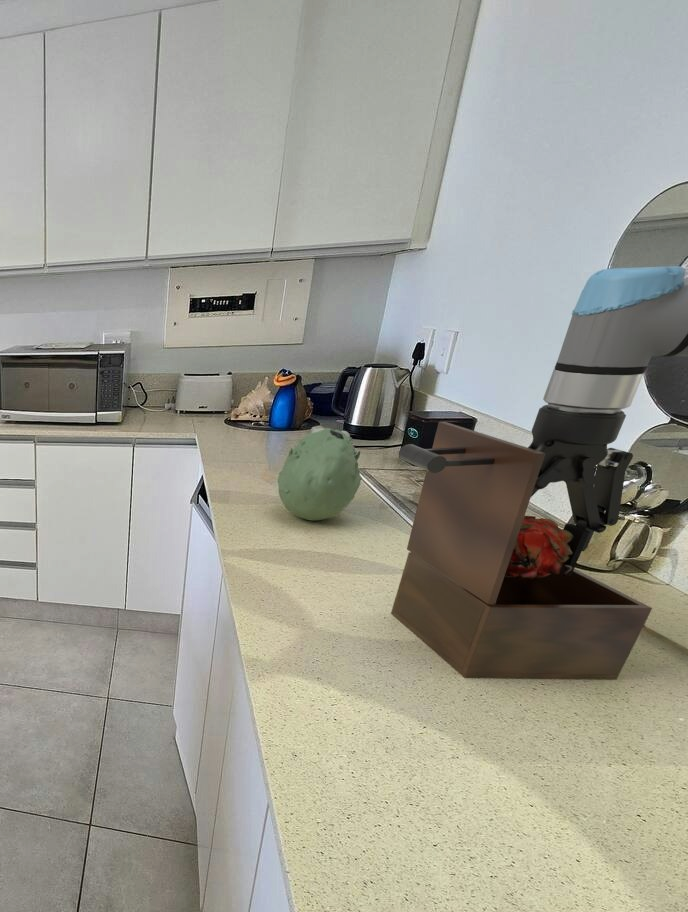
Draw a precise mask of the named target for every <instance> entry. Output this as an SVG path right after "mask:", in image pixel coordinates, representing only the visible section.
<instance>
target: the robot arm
mask: <svg viewBox="0 0 688 912" xmlns="http://www.w3.org/2000/svg"><path fill="white" fill-rule="evenodd" d="M686 274H687V273H686V269H685V268H684V267H683V266H679V265H677V266H676V265H673V266H671V265H669V266H668V265H667V266H645V267H616V268H603V269H601V270H600V269H599V270H597V271H596V272H594V273H592V275H590V276H589V277H588V278H587V280H586V283H585V285H584V286H583V288H582V290H581V292H580V295H579V298H578V300H577V302H576V304H575V306H574V308H573V310H572V312H571V318H570V320H569V324H568V327H567V330H566V333H565V336H564V340H563V342H562V344H561V345H562V346H561V349H560V351H559V354H558V358H557V360H556V363H555V366H554V368H553V371H552V373H551V376H550V378H549V381H548V383H547V388H546V389H545V393H544V396H543V398H542V400H543V402H545V403H546V404H544V405H542V406H541V407H539V409H538V411H537V414H536V416H535V420H534V423H533V425H532V428H531V434H532V442H531V443H530V444H529V446H528V447H527V448H530V449H533V450H537V451H540V452H543V453H545V456H544V459H543V462H542V465H541V468H540V471H539V474H538V477H537V480H536V483H535V486H534V489H533V492H532V495H531V498H532V497H533V496H534V495H536V493H537V492H538V491H539V490H543V489H545V488H546V487H547V486H548V485H550V484H551V483H555V484H556V483H559V482H564V483H565V485H566V490H567V495H568V496H567V497H568V500H569V504H570V510H571V514H572V519H573V522H574V523H575V524H573V523H564V526H563V528H562V529H563V530H567V531H569V532H570V533H571V534H572V535H573V537H574V538H573V539H572V540H571V541H570V542H568V543H567V545H569V547H570V549H571V551H572V552H573V553H572V554H571V555H567V556H569V559H568V560H567V561H565V562H563V563H562V564H564V565H569V566H571V567H572V570H571V571H569V572H568V573H566V574H562V575H564V576H571V575H572V572H573V570H574V569H576V565H577V563H578V561H579V558H580V556H581V554H582V552H586V550H587V549H588V548H589V544H590V542H591V540H592V538H593V535H594V533H597V534H601V533H603V532H605V531H606V530H607V526H609V527H613V526H615V525H616V524H618V522H619V518H620V511H621V504H622V496H623V490H624V483H625V477H626V471H627V469H628V467H629V465H630V463H631V462H632V460H633V458H634V454H633V453H632V452H629V451H625V450H622V449H617V448H614V447H608V445H610V444H612V443H614V442H615V441H616V440H617V438H618V436H619V434H620V431H621V429H622V426H623V424H624V422H625V419H626V417H627V415H626V413H625V411H623V410H625V409H627V408H630V407H631V405H632V403H633V401H634V398H635V395H636V393H637V390H638V388H639V385H640V383H641V381H642V379H643V377H644V373H646V371H647V368H648V365H649V362H650V361H651V359H652V357H665V358H669V357H688V277H686ZM595 467H596V469H595Z"/></svg>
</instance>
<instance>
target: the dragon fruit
mask: <svg viewBox="0 0 688 912" xmlns="http://www.w3.org/2000/svg"><path fill="white" fill-rule="evenodd" d="M563 529H564V528H561V527H559V525H558V523H557V522H556V521H555V520H553V519H552V518H551V519H550V518H541V517H540V518H537V517H536V516H535V515H525V516H524V519H523V522H522V525H521V528H520V531H519V534H518V537H517V540H516V543H515V546H514V549H513V552H512V555H511V558H510V561H509V564H508V567H507V570H506V573H505V576H504V577H505V578H508V579H510V578H509V577H516V576H518V575H520V576H522V577H523V578H526V577H527V578H529V579H532V578H534V577H536V578H541V577H545V576H548V575H550V574H558V575H562V574H566V573H568V572H569V571H571V570H572V567H571V566H569V565H564V564H562V563H563V562H565V561H567V560H568V559H569V556H567V555H571V554H572V553H573V552H572V551H571V549H570V547H569V545H567V543H568V542H570V541H571V540H572V539H573V538H574V537H573V535H572V534H571V533H570V532H569V531H567V530H563Z"/></svg>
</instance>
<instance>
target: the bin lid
mask: <svg viewBox="0 0 688 912" xmlns="http://www.w3.org/2000/svg"><path fill="white" fill-rule="evenodd" d="M544 456H545V453H543V452H540V451H537V450H533V449H530V448H528V447H527V446H523V445H521V444H518V443H515V442H511V441H508V440H505V439H501V438H498V437H495V436H493V435H492V436H491V435H489V434H486V433H482V432H480V431H476V430H473V429H471V428H466V427H463V426H460V425H458V424H457V425H456V424H454V423H450V422H447V421H438V424H437V427H436V431H435V435H434V439H433V444H432V447H431V448H422V447H420V446H417V445H415V444H412V443H408V444H405V445H403V446H402V447H400V449H399V450H398V458H399V459H400V460H401V461H404V462H406V463H409V464H410V465H413V466H415V467H418V468H420V469H422V470H424V471H425V475H424V478H423V482H422V483H423V484H422V486H421V491H420V495H419V499H418V503H417V506H416V512H415V515H414V518H413V522H412V527H411V530H410V534H409V539H408V542H407V547H406V551H409V552H411V553H413V554H414V555H416V556H417V557H419V558H420V559H422V560H423V561H425V562H426V563H428V564H429V565H431V566H432V567H434V568H435V569H437V570H438V571H440V572H441V573H442V574H444V575H445V576H447V577H448V578H450V579H451V580H453V581H454V582H456V583H457V584H459V585H460V586H462V587H463V588H465V589H466V590H468V591H469V592H471V593H472V594H474V595H475V596H477V597H478V598H480V599H481V600H483V601H484V602H486V603H487V604H495V603H496V600H497V597H498V594H499V591H500V588H501V585H502V582H503V579H504V576H505V573H506V570H507V567H508V564H509V561H510V558H511V555H512V552H513V549H514V546H515V543H516V540H517V537H518V534H519V531H520V528H521V525H522V522H523V519H524V516H526V513H527V510H528V507H529V504H530V501H531V498H532V497H531V495H532V492H533V489H534V486H535V483H536V480H537V477H538V474H539V471H540V468H541V465H542V462H543V459H544Z"/></svg>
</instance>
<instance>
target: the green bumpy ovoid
mask: <svg viewBox="0 0 688 912" xmlns="http://www.w3.org/2000/svg"><path fill="white" fill-rule="evenodd" d="M360 456H361V450H359V451H356V448H355V446H354V443H353V437H351V434H350V433H349V432H348V431H346V430H339V429H333V428H330V427H323V426H322V425H314V426H312V427H311V428H310V432H309V433H308V434H305V435H304V436H303V437H302V438H301V439H299V440H298V443H297V444H296V445H295V446H294V448H293V447H291V448H290V449H289V451H288V455H287V457H286V458H285V461H284V464H283V466H282V469H281V470H280V471H279V473H278V474H279V475H278V477H277V484H278V496H279V498H280V500H281V503H282V504H283V506H284V507H285V509H286V510H287V511H288V512H291V513H292V514H293V515H294V516H296V517H298V518H300V519H303V520H307V521H321V520H327V519H329V518H332V517H335V516H336V515H338V514H339V513H341V512H342V511H343V510H345V509H346V508H347V507H348V506H349V505H350V503H351V502H352V501H353V500H354V499H355V496H356V493H357V492H358V490H359V488H360V485H361V481H362V478H363V477H362V475H361V469H360V468H359V462H358V460H359V459H360Z"/></svg>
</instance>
